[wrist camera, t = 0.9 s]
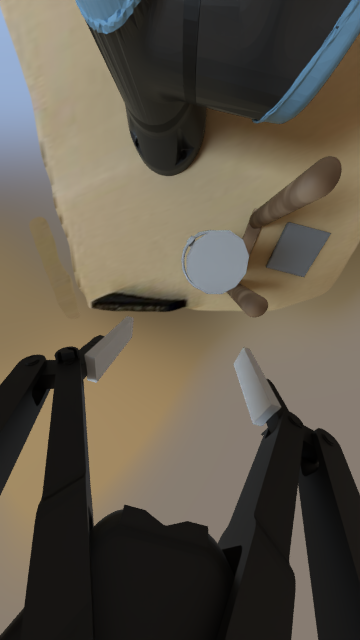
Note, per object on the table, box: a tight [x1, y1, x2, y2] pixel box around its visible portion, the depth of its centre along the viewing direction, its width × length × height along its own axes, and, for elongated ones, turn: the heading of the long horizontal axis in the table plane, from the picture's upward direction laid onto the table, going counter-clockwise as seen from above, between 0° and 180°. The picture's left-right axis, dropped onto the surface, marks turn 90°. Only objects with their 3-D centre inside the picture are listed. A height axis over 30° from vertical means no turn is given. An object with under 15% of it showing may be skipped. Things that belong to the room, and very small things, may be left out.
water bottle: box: [181, 230, 249, 294], centre depth 26 cm, size 9×8×25 cm
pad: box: [266, 222, 331, 277], centre depth 34 cm, size 10×10×1 cm
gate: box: [226, 156, 341, 317], centre depth 27 cm, size 20×4×19 cm, turn 166°
